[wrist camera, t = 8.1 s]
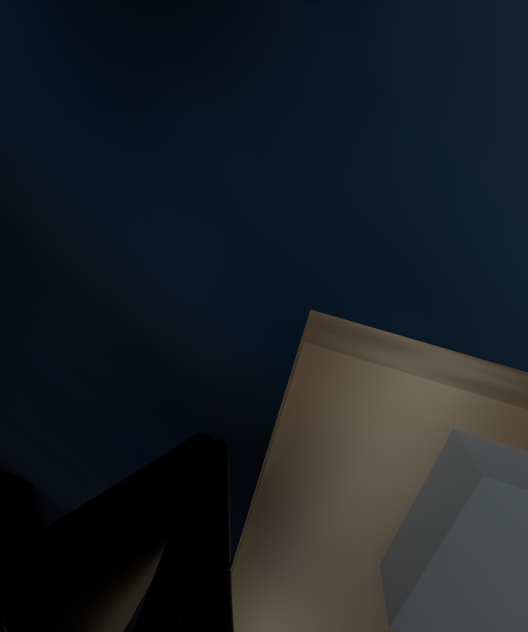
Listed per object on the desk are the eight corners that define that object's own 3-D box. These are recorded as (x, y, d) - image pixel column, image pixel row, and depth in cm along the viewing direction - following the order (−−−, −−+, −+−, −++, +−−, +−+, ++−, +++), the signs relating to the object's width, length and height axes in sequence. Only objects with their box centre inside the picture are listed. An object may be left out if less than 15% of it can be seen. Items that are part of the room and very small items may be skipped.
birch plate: (213, 627, 16) (188, 713, 13) (310, 309, 10) (303, 342, 8) (446, 726, 15) (474, 844, 12) (709, 425, 9) (882, 516, 6)
